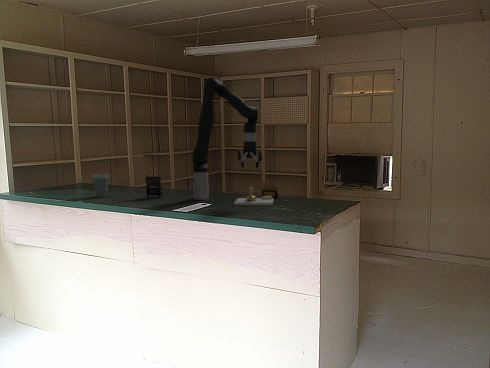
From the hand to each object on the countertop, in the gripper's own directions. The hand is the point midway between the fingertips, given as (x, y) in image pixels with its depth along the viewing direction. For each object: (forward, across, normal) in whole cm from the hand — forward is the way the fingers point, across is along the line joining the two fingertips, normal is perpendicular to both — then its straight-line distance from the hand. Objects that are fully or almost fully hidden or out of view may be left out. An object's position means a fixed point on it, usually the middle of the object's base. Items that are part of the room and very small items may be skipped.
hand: (249, 168), depth 259 cm
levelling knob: (+19, -1, +1) cm, 19 cm away
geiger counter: (+22, +66, -1) cm, 69 cm away
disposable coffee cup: (+22, +102, +6) cm, 105 cm away
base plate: (+21, -3, +1) cm, 21 cm away
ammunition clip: (+21, -7, -19) cm, 29 cm away
